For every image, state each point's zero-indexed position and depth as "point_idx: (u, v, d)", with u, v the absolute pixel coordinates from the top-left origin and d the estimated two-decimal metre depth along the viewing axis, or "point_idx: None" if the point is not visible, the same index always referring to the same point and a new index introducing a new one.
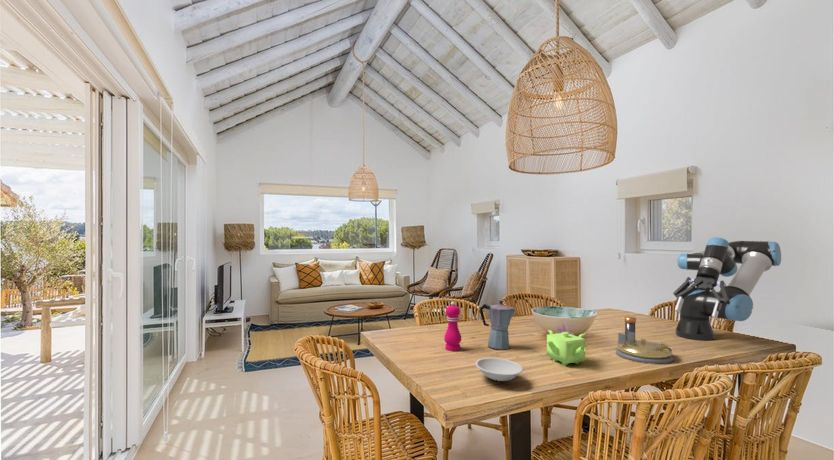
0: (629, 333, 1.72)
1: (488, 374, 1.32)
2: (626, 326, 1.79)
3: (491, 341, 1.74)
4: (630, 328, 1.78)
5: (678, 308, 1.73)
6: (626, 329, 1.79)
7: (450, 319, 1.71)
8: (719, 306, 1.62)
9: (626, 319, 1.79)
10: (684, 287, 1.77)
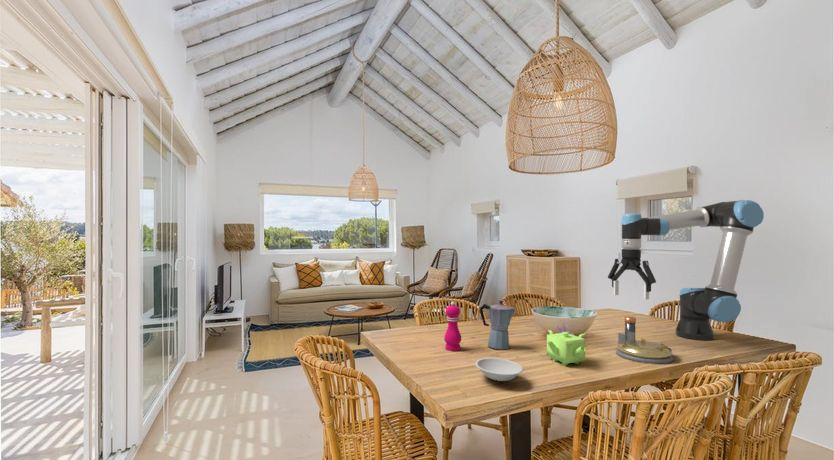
0: (629, 333, 1.72)
1: (488, 374, 1.32)
2: (626, 326, 1.79)
3: (491, 341, 1.74)
4: (630, 328, 1.78)
5: (616, 292, 1.85)
6: (626, 329, 1.79)
7: (450, 319, 1.71)
8: (647, 288, 1.73)
9: (626, 319, 1.79)
10: (615, 269, 1.85)
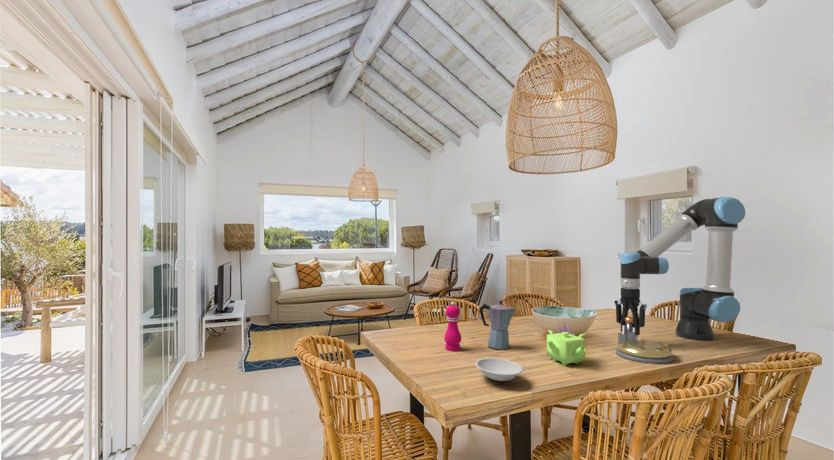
0: (629, 333, 1.72)
1: (488, 374, 1.32)
2: (626, 326, 1.79)
3: (491, 341, 1.74)
4: (630, 328, 1.78)
5: None
6: (626, 329, 1.79)
7: (450, 319, 1.71)
8: (636, 331, 1.76)
9: (626, 319, 1.79)
10: (619, 311, 1.83)
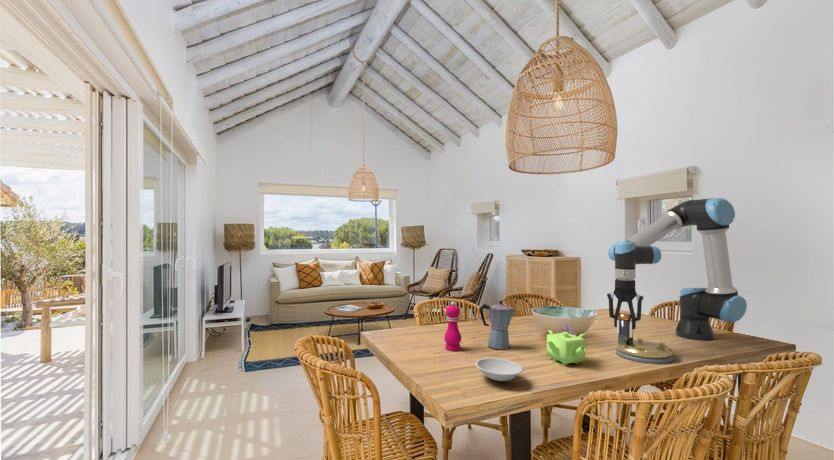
0: None
1: (488, 374, 1.32)
2: (622, 324, 1.67)
3: (491, 341, 1.74)
4: (626, 326, 1.66)
5: (619, 332, 1.69)
6: (622, 327, 1.67)
7: (450, 319, 1.71)
8: (633, 325, 1.66)
9: (622, 316, 1.67)
10: (612, 304, 1.70)
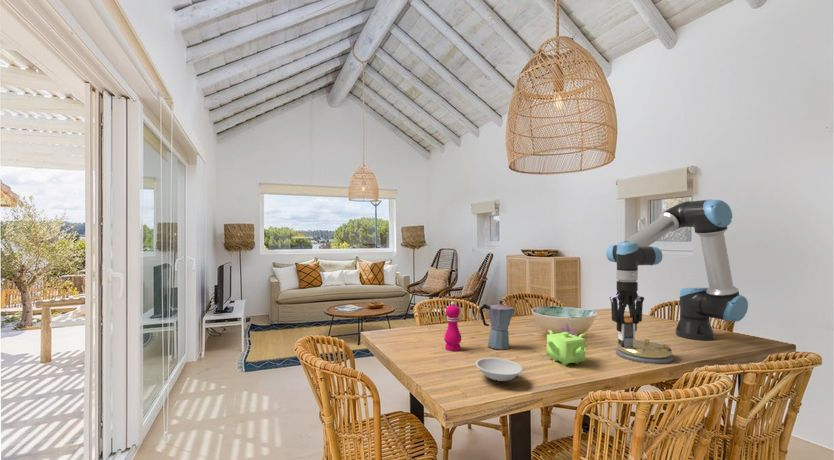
0: None
1: (488, 374, 1.32)
2: (628, 327, 1.61)
3: (491, 341, 1.74)
4: (631, 328, 1.62)
5: None
6: (627, 330, 1.61)
7: (450, 319, 1.71)
8: (635, 327, 1.63)
9: (628, 319, 1.61)
10: None
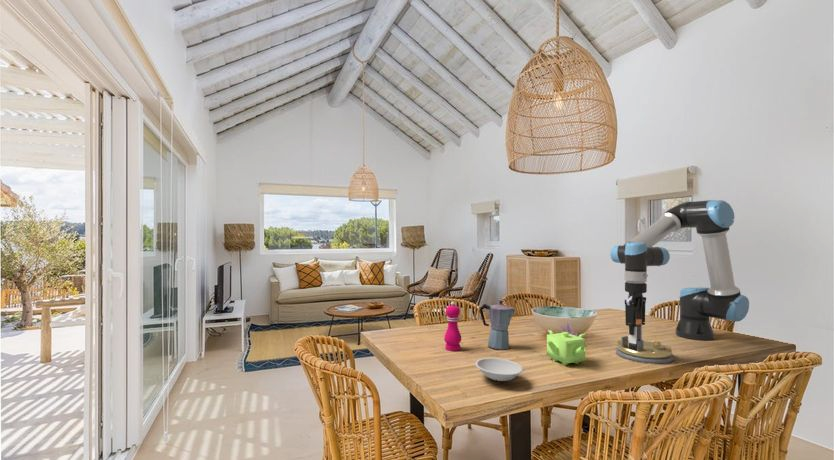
0: (624, 339, 1.63)
1: (488, 374, 1.32)
2: (639, 329, 1.58)
3: (491, 341, 1.74)
4: None
5: None
6: (639, 333, 1.58)
7: (450, 319, 1.71)
8: None
9: (640, 321, 1.57)
10: None
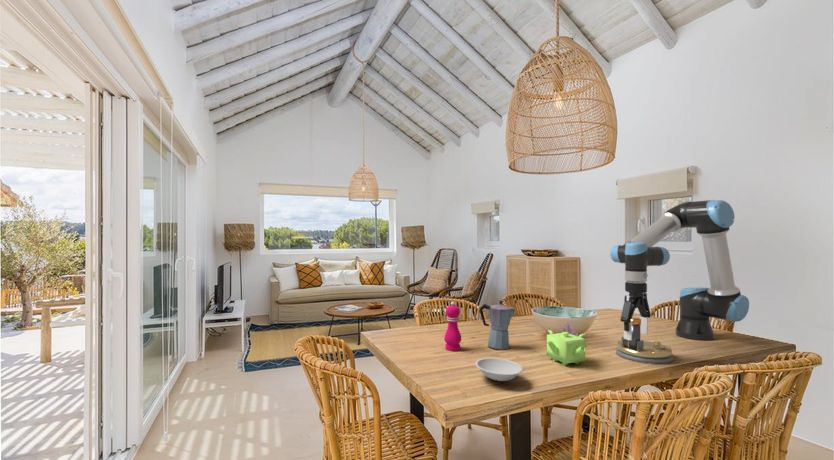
0: (624, 339, 1.63)
1: (488, 374, 1.32)
2: (639, 329, 1.58)
3: (491, 341, 1.74)
4: None
5: None
6: (638, 333, 1.58)
7: (450, 319, 1.71)
8: None
9: (639, 321, 1.58)
10: None
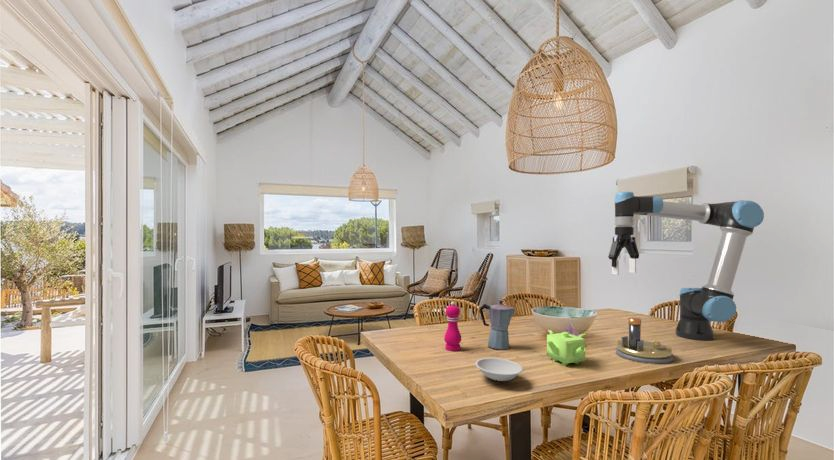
0: (624, 339, 1.63)
1: (488, 374, 1.32)
2: (639, 329, 1.58)
3: (491, 341, 1.73)
4: None
5: None
6: (638, 333, 1.58)
7: (450, 319, 1.71)
8: None
9: (639, 321, 1.58)
10: None
